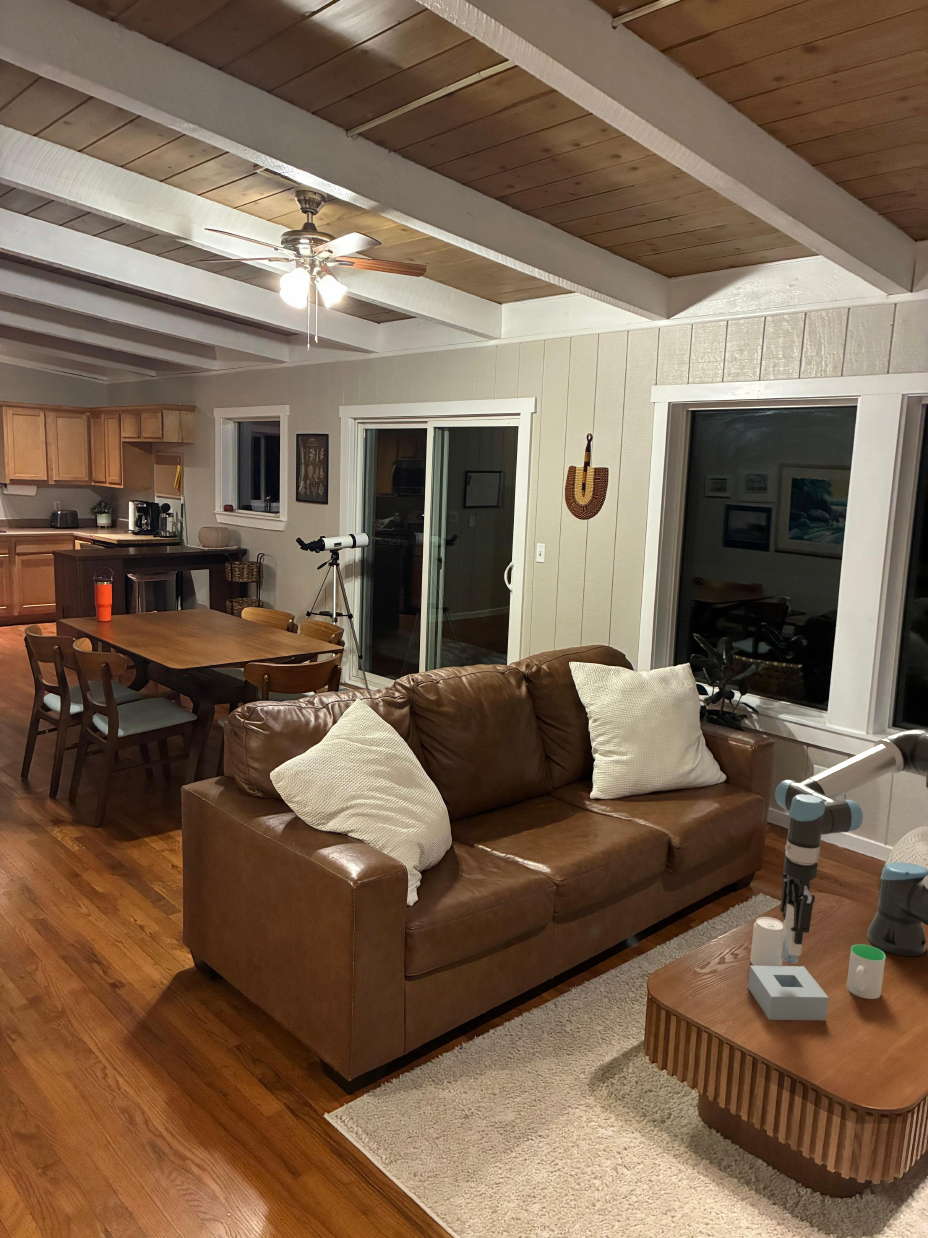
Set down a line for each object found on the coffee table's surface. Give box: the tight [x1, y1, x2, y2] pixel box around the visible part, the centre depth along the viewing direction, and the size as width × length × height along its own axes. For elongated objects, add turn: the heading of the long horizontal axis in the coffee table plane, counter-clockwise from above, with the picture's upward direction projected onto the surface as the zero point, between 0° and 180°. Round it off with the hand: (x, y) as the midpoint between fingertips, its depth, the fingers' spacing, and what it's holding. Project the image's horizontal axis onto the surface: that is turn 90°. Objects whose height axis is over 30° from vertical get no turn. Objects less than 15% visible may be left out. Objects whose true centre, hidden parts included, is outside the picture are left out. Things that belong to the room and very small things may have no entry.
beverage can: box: [749, 916, 784, 966], centre depth 242 cm, size 8×8×12 cm
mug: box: [846, 943, 887, 1000], centre depth 230 cm, size 12×8×10 cm, turn 145°
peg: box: [781, 902, 800, 965], centre depth 222 cm, size 4×4×14 cm
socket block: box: [747, 965, 829, 1021], centre depth 224 cm, size 14×14×6 cm
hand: (790, 949), depth 223 cm, fingers closed on peg, 4 cm apart
